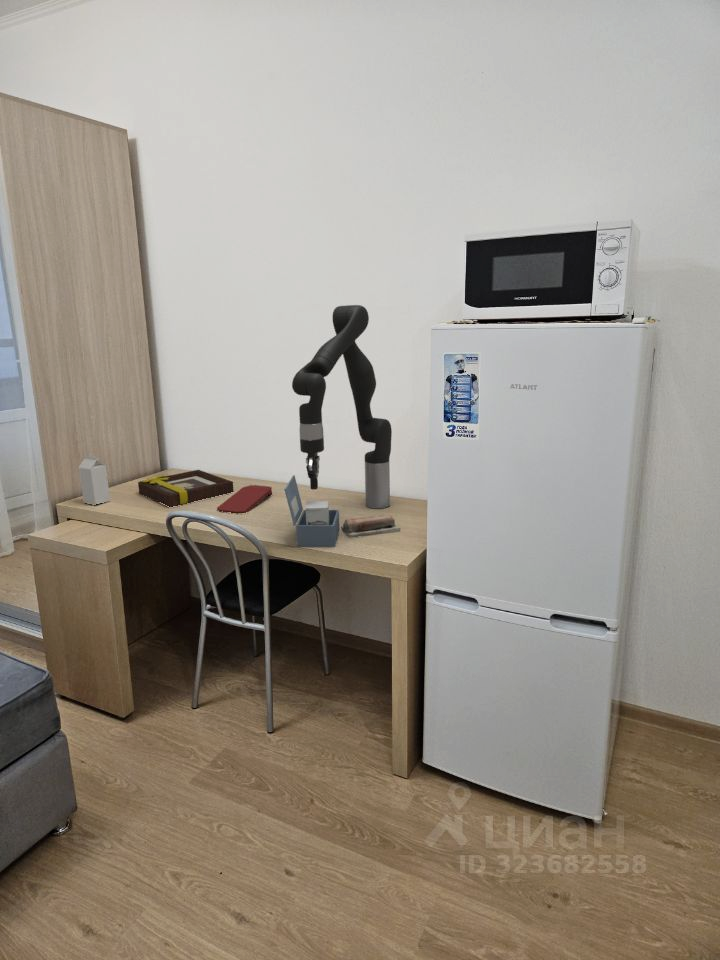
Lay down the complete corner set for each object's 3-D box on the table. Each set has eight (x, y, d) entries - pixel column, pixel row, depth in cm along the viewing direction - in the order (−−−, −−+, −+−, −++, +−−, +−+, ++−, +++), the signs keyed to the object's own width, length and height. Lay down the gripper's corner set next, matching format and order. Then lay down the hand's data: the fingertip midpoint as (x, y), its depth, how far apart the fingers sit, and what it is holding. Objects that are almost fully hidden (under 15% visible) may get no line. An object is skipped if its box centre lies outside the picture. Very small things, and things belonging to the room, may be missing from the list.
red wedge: (244, 524, 236) (276, 495, 258) (242, 512, 235) (275, 484, 256) (217, 520, 241) (250, 493, 262) (214, 509, 239) (249, 482, 260)
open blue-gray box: (304, 529, 218) (303, 509, 216) (339, 529, 217) (338, 509, 215) (297, 546, 202) (296, 525, 200) (334, 546, 201) (334, 525, 200)
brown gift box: (169, 492, 243) (136, 478, 264) (171, 509, 244) (137, 493, 266) (233, 478, 261) (197, 466, 282) (234, 494, 263) (198, 480, 284)
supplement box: (306, 545, 203) (304, 507, 200) (307, 537, 210) (306, 500, 207) (329, 544, 203) (328, 507, 200) (330, 536, 210) (328, 500, 207)
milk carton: (95, 506, 249) (89, 459, 244) (83, 504, 253) (76, 457, 248) (110, 501, 255) (104, 455, 250) (98, 499, 259) (92, 453, 254)
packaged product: (349, 525, 207) (340, 516, 216) (349, 539, 209) (341, 529, 218) (400, 518, 212) (390, 510, 221) (401, 532, 214) (390, 523, 223)
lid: (303, 509, 216) (301, 509, 216) (294, 475, 213) (293, 475, 213) (295, 525, 200) (293, 525, 200) (286, 488, 197) (284, 489, 197)
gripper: (303, 432, 209) (305, 483, 213) (296, 441, 196) (299, 495, 201) (325, 432, 208) (328, 483, 213) (320, 440, 195) (323, 494, 200)
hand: (314, 488), depth 207 cm, fingers closed
